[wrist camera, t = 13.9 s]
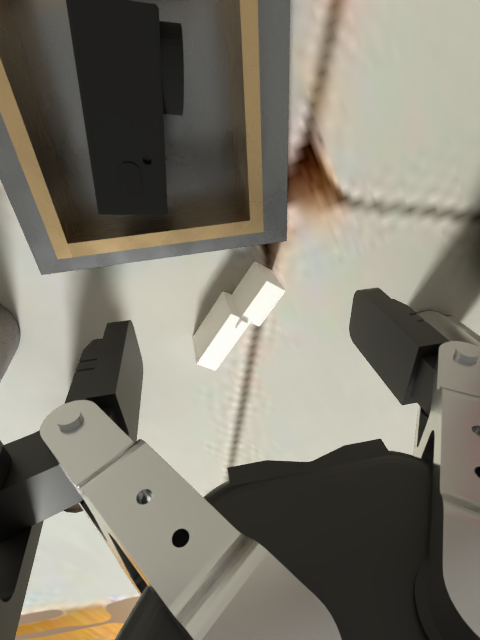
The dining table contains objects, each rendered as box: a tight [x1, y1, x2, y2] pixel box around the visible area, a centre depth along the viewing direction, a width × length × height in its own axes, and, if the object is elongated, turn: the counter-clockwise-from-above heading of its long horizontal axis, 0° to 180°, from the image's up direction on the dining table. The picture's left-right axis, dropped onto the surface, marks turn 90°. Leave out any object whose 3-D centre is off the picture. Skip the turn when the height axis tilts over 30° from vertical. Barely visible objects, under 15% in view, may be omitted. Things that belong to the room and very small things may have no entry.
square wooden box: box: [0, 0, 290, 275], centre depth 24 cm, size 22×22×8 cm
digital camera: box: [66, 0, 184, 215], centre depth 22 cm, size 10×5×7 cm, turn 176°
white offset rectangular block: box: [192, 261, 285, 371], centre depth 36 cm, size 15×11×6 cm
